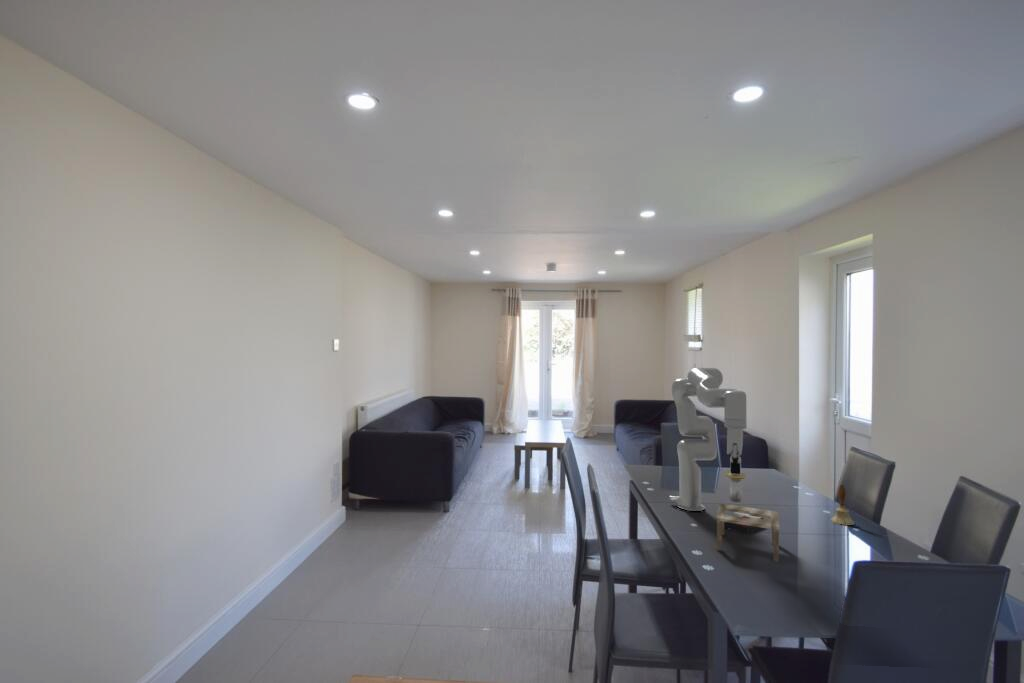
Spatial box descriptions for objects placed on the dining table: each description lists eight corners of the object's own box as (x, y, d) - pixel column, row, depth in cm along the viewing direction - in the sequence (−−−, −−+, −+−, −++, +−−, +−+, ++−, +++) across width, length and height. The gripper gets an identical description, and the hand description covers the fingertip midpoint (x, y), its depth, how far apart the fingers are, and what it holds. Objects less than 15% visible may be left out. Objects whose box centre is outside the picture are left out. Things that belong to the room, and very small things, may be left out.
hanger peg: (724, 501, 172) (724, 458, 173) (725, 496, 179) (725, 455, 179) (745, 504, 169) (745, 460, 170) (746, 499, 175) (746, 457, 176)
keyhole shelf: (716, 550, 168) (716, 517, 169) (719, 533, 184) (719, 503, 185) (779, 562, 159) (779, 527, 159) (777, 543, 175) (777, 511, 175)
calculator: (720, 518, 192) (737, 508, 202) (720, 528, 193) (737, 518, 202) (746, 526, 184) (763, 516, 193) (747, 536, 184) (763, 526, 193)
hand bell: (829, 522, 198) (829, 484, 198) (832, 517, 204) (832, 481, 204) (853, 527, 192) (852, 488, 192) (855, 522, 198) (855, 484, 198)
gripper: (725, 420, 184) (725, 466, 183) (723, 425, 169) (723, 476, 169) (746, 421, 180) (747, 468, 180) (746, 427, 166) (746, 478, 165)
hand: (735, 471), depth 174 cm, fingers closed on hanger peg, 3 cm apart
